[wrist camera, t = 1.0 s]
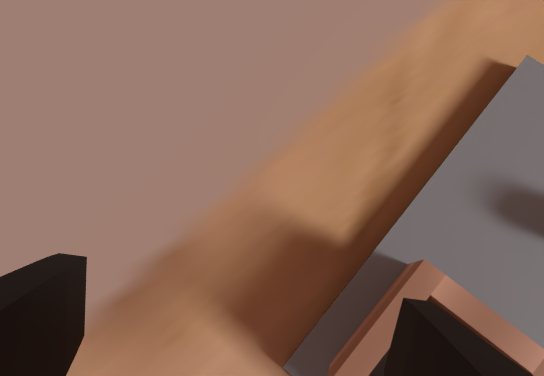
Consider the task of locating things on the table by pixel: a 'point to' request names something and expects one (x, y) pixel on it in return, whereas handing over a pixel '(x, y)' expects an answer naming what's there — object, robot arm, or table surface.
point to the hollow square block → (448, 296)
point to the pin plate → (463, 227)
